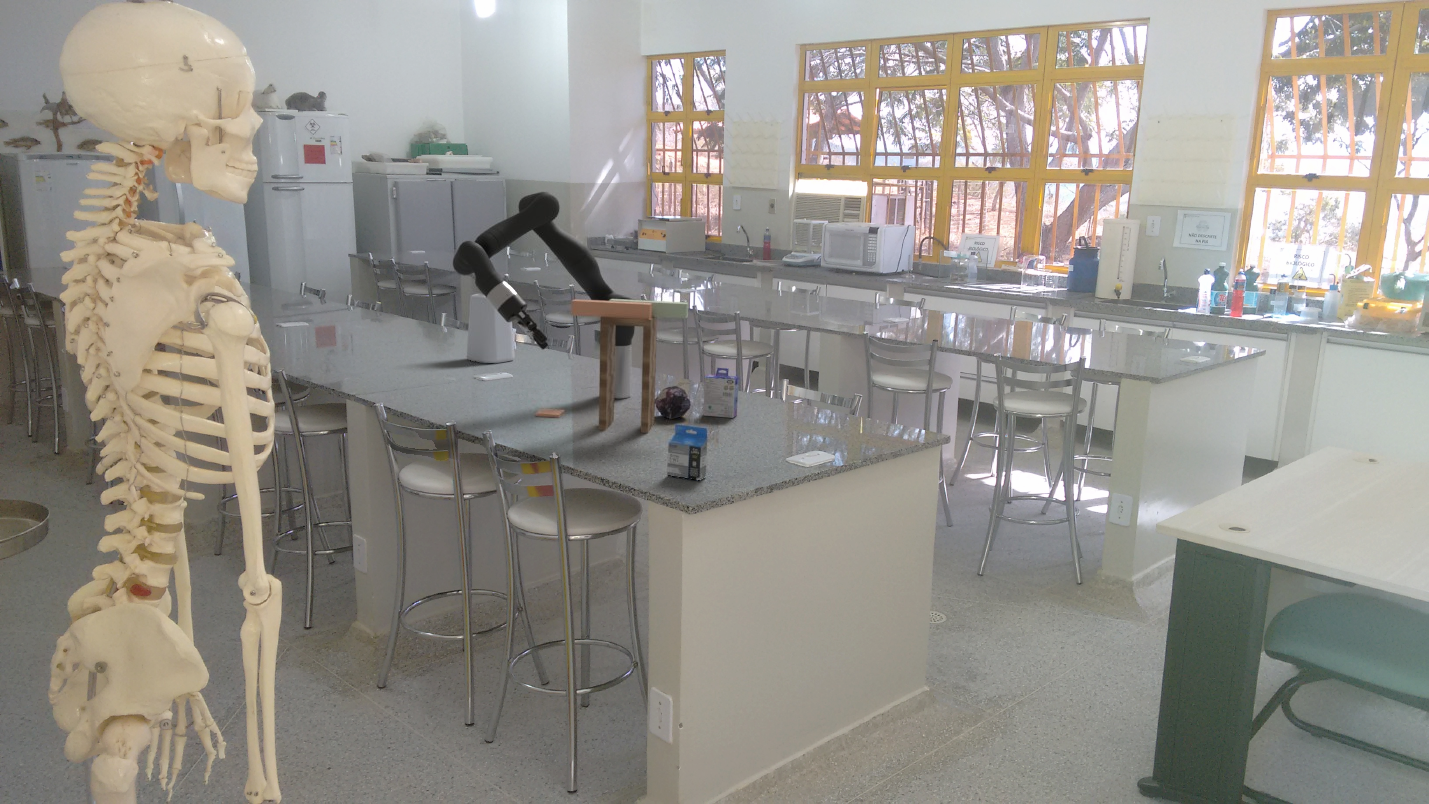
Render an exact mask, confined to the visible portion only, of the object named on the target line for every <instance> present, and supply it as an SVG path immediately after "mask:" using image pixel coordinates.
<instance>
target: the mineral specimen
mask: <svg viewBox="0 0 1429 804" xmlns="http://www.w3.org/2000/svg"><path fill="white" fill-rule="evenodd" d="M691 407H692V402H691V399H690V397H689V395H688V393H687V392H686V390H685V389H683V388H682V387H680V386H677V385H673V386H668V387H665V388H663V389H662V390H661V391H660V392H659V393H658V395H657V397H655V408H656V409H657V410H658V413H659V414H660V415H661V416H663V417H664V418H667V419H668V418H669V420H673V419H678V418H680V417H683V416H685V415H686V413H688V411H689V410H690V409H691Z"/></svg>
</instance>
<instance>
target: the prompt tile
mask: <svg viewBox="0 0 1429 804" xmlns="http://www.w3.org/2000/svg"><path fill="white" fill-rule="evenodd" d="M564 414H565V409H556V408H555V409H554V408H541V409H539V410H538V411H537V412H535V417H544V418H560V417H561V416H562V415H564Z"/></svg>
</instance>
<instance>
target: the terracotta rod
mask: <svg viewBox="0 0 1429 804" xmlns="http://www.w3.org/2000/svg"><path fill="white" fill-rule="evenodd" d="M570 308H571V309H570V310H571V311H570V312H571V313H570V315H571V316H578V317H579V316H582V317H600V318H601V317H618V318H638V319H650V318H652V303H640V302H620V301H599V300H591V299H579V298H578V299H572V300H571V303H570Z"/></svg>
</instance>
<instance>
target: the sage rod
mask: <svg viewBox="0 0 1429 804" xmlns="http://www.w3.org/2000/svg"><path fill="white" fill-rule="evenodd" d="M609 301H620V302H640V303H652V317H657V318H669V319H670V318H671V319H673V318H675V319H687V318H688V317H689V302H686V301H684V302H681V301H664V300H663V301H661V300H644V299H643V300H641V299H632V300H625V299H611V300H609Z"/></svg>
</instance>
